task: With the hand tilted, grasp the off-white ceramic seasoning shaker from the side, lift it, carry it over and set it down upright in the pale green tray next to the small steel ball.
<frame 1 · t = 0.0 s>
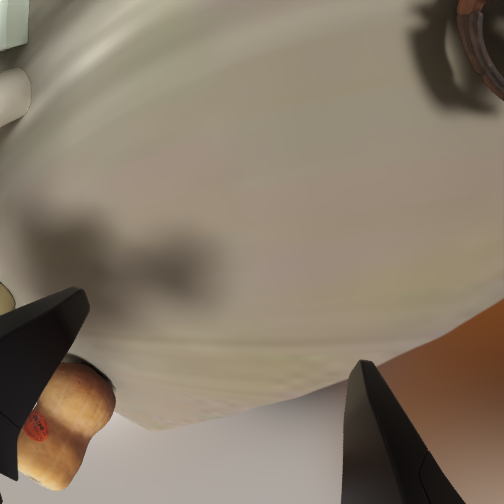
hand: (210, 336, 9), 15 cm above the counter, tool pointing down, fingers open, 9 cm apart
butternut squash: (91, 369, 50), on the counter
squeeze bottle: (5, 292, 43), on the counter
shaker: (15, 92, 20), on the counter
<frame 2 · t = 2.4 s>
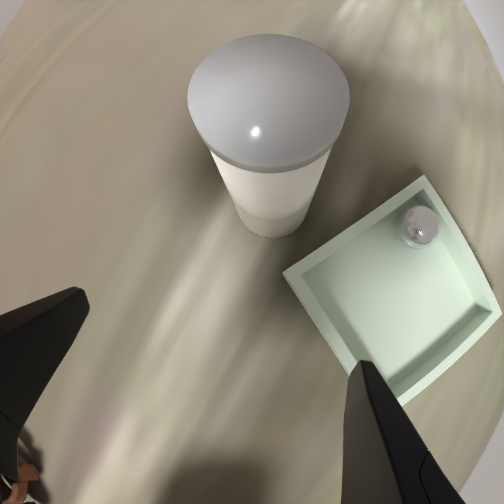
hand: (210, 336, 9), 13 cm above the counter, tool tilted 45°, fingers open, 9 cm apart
tray: (397, 296, 22), on the counter
ball: (409, 231, 22), point 1 cm above the counter, touching tray
shaker: (272, 203, 24), on the counter
pottery mug: (23, 477, 22), on the counter
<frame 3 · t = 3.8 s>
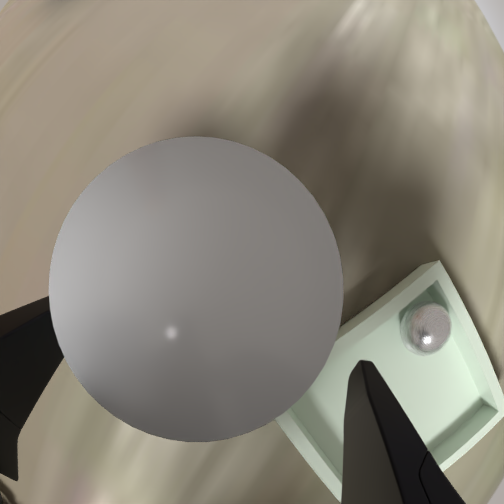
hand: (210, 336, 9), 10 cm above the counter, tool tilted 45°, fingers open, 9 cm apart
tray: (392, 399, 17), on the counter
ball: (414, 326, 17), point 1 cm above the counter, touching tray
shaker: (247, 295, 19), on the counter
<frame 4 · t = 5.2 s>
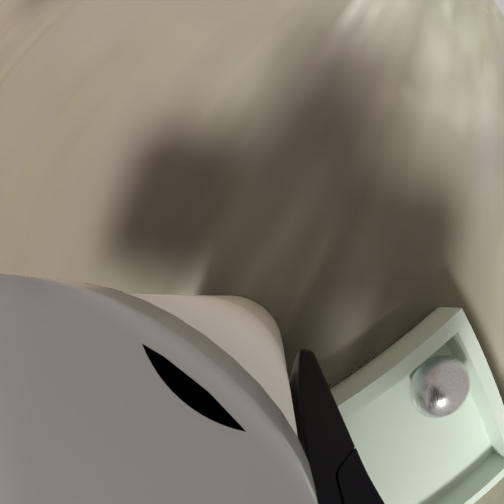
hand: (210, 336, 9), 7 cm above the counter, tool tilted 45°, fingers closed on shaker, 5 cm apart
tray: (396, 455, 14), on the counter
ball: (426, 379, 14), point 1 cm above the counter, touching tray
shaker: (230, 346, 16), on the counter, touching gripper
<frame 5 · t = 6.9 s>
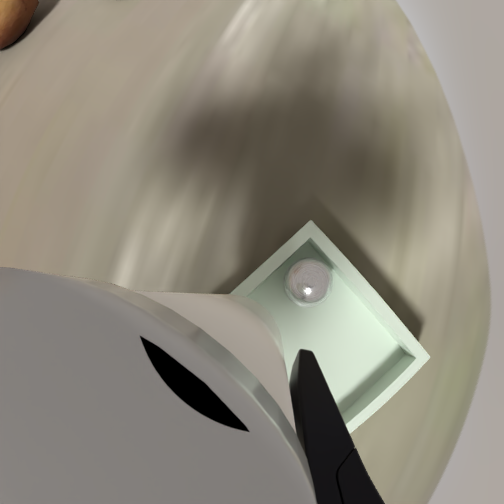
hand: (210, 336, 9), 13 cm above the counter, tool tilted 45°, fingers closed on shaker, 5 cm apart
butternut squash: (18, 35, 30), on the counter
tray: (301, 352, 22), on the counter
ball: (305, 283, 22), point 1 cm above the counter, touching tray
shaker: (230, 345, 16), point 7 cm above the counter, touching gripper
when the fingers open (8 cm above the counter, at t = 8.9 s): shaker stays where it is, resting on tray.
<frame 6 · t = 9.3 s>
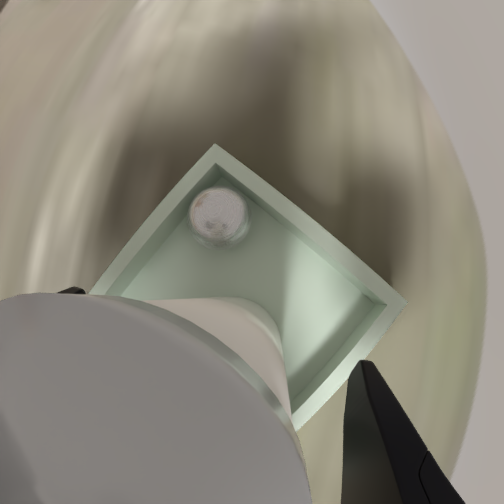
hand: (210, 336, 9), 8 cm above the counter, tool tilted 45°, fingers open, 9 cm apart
tray: (231, 316, 17), on the counter
ball: (224, 225, 17), point 1 cm above the counter, touching tray
shaker: (231, 344, 16), point 1 cm above the counter, touching tray
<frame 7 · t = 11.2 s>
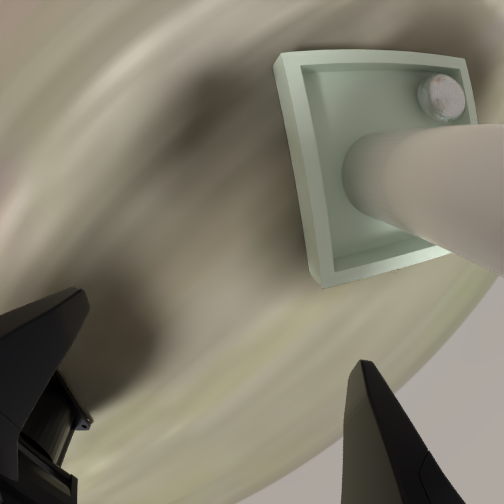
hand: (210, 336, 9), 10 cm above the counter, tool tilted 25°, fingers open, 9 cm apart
tray: (388, 156, 18), on the counter
ball: (426, 100, 17), point 1 cm above the counter, touching tray
shaker: (380, 175, 18), point 1 cm above the counter, touching tray
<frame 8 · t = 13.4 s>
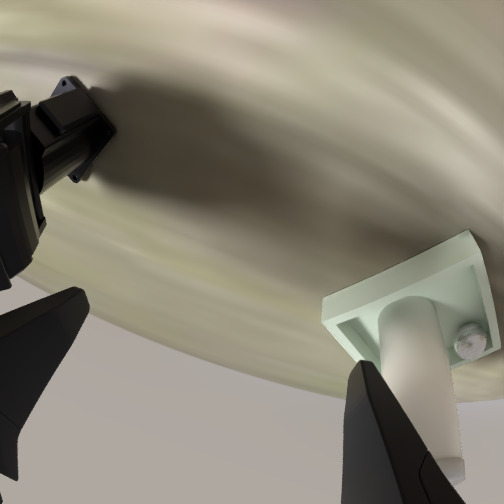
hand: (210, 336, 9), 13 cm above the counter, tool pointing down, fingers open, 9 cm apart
tray: (421, 315, 24), on the counter
ball: (466, 327, 23), point 1 cm above the counter, touching tray
shaker: (407, 318, 24), point 1 cm above the counter, touching tray
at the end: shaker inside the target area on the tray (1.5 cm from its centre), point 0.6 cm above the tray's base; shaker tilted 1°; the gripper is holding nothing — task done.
